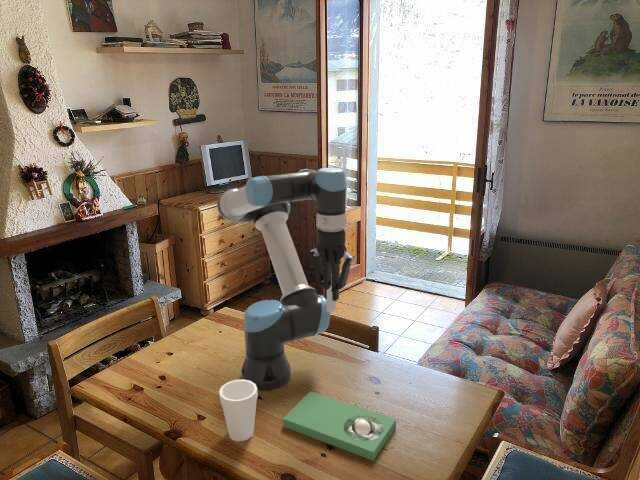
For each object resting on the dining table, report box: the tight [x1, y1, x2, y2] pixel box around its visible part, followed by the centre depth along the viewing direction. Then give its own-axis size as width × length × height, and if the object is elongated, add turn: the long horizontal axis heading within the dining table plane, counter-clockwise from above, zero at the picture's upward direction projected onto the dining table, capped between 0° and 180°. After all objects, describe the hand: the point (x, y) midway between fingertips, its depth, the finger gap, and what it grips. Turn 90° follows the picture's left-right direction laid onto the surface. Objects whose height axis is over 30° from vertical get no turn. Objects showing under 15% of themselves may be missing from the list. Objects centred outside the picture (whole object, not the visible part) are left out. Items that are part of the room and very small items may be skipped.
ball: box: [354, 420, 372, 435], centre depth 133 cm, size 4×4×4 cm
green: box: [282, 391, 397, 461], centre depth 136 cm, size 26×14×2 cm, turn 60°
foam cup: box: [218, 378, 259, 442], centre depth 133 cm, size 10×9×13 cm
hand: (331, 310), depth 143 cm, fingers closed
